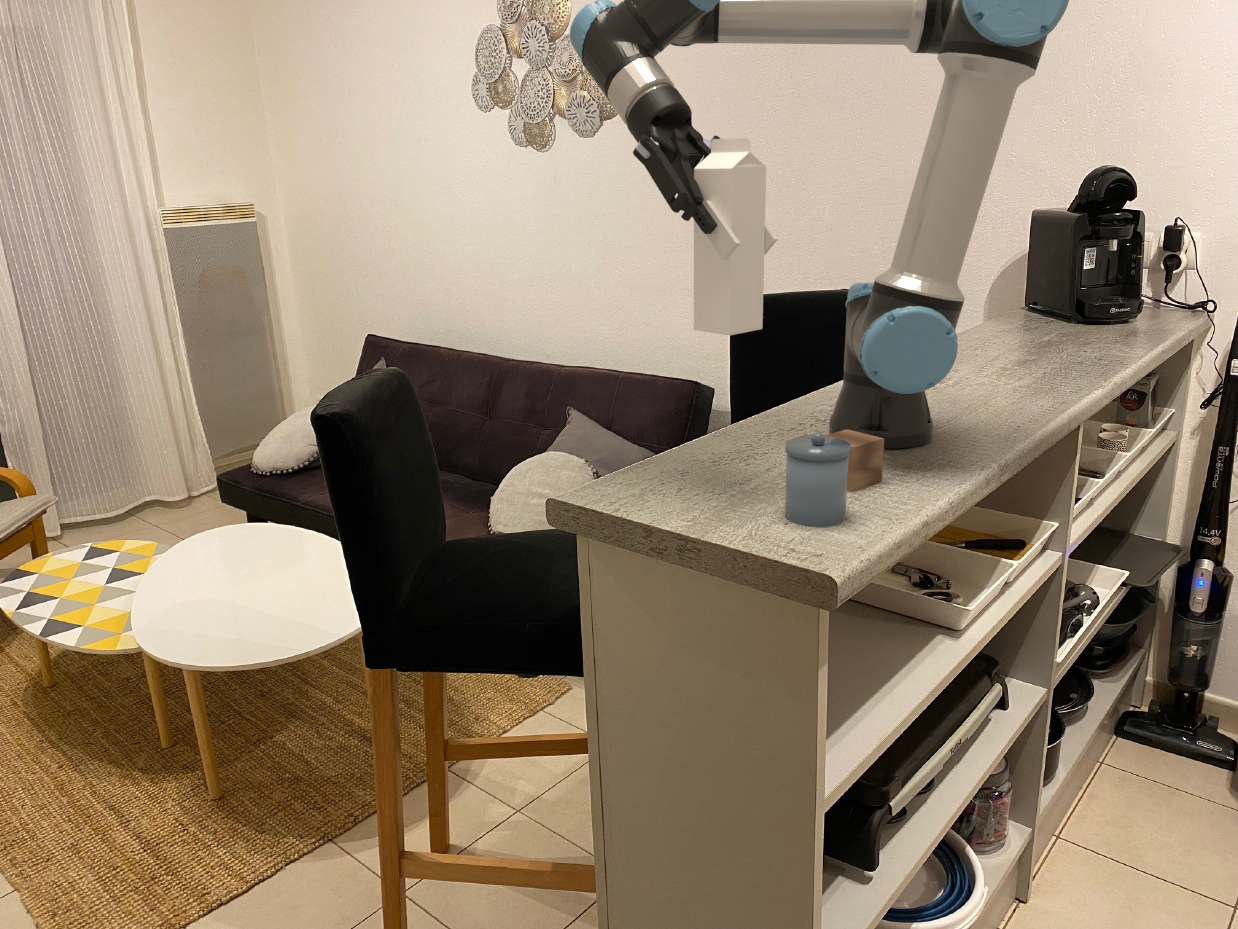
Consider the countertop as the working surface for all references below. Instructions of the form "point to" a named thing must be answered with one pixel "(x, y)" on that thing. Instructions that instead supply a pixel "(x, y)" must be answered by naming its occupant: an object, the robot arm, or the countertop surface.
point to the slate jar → (816, 480)
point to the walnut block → (862, 459)
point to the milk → (739, 195)
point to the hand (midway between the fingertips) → (750, 249)
